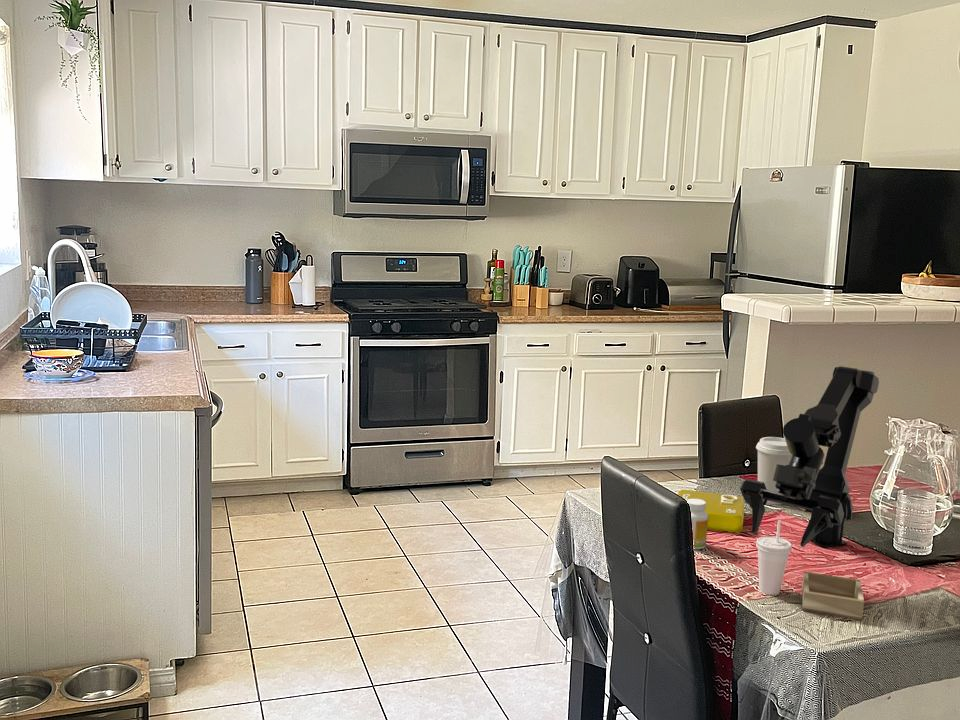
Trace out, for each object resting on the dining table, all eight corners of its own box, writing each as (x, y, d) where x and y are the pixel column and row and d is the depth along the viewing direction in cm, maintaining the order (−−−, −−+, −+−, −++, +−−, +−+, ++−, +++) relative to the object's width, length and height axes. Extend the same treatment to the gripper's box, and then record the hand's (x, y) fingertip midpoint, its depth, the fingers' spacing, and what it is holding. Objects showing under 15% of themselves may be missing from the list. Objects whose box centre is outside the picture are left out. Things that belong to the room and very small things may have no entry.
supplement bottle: (706, 542, 198) (710, 499, 196) (704, 551, 192) (708, 507, 191) (681, 538, 199) (684, 495, 197) (678, 547, 194) (681, 503, 192)
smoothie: (789, 599, 171) (796, 528, 168) (753, 595, 172) (760, 524, 170) (785, 585, 177) (792, 516, 174) (750, 581, 178) (756, 512, 176)
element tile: (677, 505, 222) (679, 486, 221) (742, 513, 218) (744, 494, 217) (672, 526, 207) (674, 506, 206) (742, 535, 203) (744, 515, 203)
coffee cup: (796, 499, 228) (802, 440, 225) (786, 509, 220) (792, 449, 217) (757, 491, 233) (762, 433, 230) (746, 501, 225) (751, 442, 222)
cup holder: (801, 588, 176) (803, 571, 175) (858, 597, 173) (860, 579, 172) (802, 610, 167) (804, 592, 166) (861, 620, 164) (864, 601, 163)
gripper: (748, 438, 181) (720, 506, 174) (846, 458, 170) (821, 531, 163) (759, 469, 188) (733, 535, 182) (853, 489, 177) (830, 560, 171)
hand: (777, 539), depth 174 cm, fingers open, 9 cm apart
